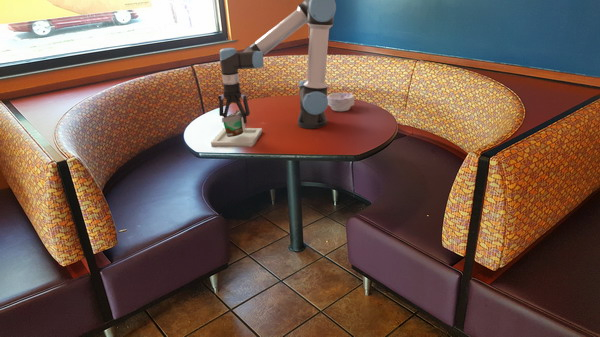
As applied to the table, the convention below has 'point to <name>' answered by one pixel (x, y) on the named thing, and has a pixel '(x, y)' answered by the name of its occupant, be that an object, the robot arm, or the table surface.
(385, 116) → the table surface
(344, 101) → the paper bowls
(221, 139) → the white square tray
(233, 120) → the food container
